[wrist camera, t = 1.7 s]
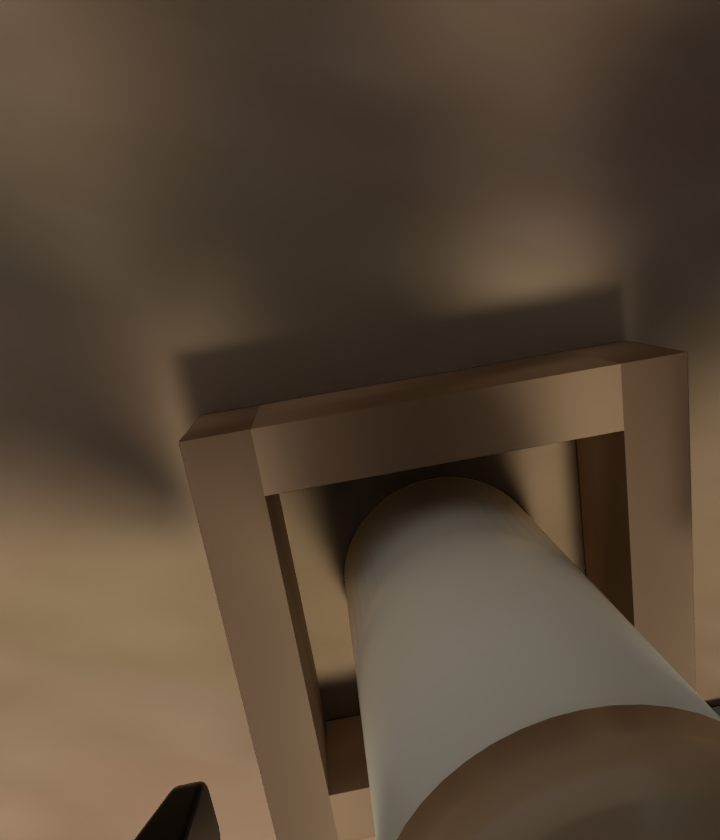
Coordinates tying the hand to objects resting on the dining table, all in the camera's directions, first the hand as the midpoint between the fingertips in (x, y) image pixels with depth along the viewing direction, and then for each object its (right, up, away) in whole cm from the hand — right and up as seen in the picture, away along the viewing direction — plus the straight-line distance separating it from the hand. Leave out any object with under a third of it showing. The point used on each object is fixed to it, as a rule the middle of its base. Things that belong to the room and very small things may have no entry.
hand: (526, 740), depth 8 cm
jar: (0, +1, +5) cm, 5 cm away
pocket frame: (0, +1, +5) cm, 5 cm away
